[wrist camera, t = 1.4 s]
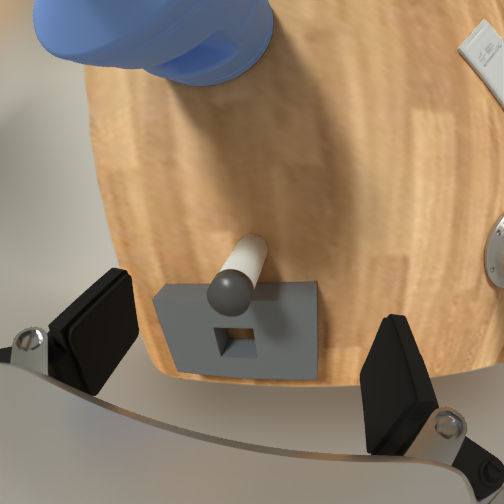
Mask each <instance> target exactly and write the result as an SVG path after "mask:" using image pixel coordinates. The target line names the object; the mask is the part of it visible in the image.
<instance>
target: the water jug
mask: <svg viewBox="0 0 504 504" xmlns="http://www.w3.org/2000/svg"><path fill="white" fill-rule="evenodd" d="M33 22H34V29H35V32H36V35H37V38H38V40H39V42H40V43H41V44H42V46H43V47H44V48H45V49H46V50H47V51H48V52H49V53H51V54H52V55H54V56H56V57H58V58H62V59H65V60H71V61H74V62H77V63H81V64H86V65H93V66H101V67H117V68H123V69H141V68H143V69H144V70H146V71H147V72H149V73H151V74H153V75H156V76H159V77H163V78H167V79H170V80H172V81H175V82H178V83H181V84H185V85H190V86H210V85H216V84H220V83H223V82H226V81H229V80H231V79H233V78H236V77H237V76H239V75H241V74H242V73H244V72H245V71H247V70H248V69H249V68H251V67H252V66H253V65H254V64H255V63H256V62H257V61H258V60H259V59H260V57H261V56H262V55H263V53H264V52H265V50H266V48H267V47H268V44H269V42H270V40H271V36H272V32H273V14H272V10H271V7H270V5H269V2H268V0H35V2H34V9H33Z"/></svg>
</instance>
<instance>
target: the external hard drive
mask: <svg viewBox="0 0 504 504" xmlns="http://www.w3.org/2000/svg"><path fill="white" fill-rule="evenodd" d="M457 51H458V52H459V53H460V54H461V55H462V56H463V57H464V58H465V60H466V61H467V62H468V63H469V64H470V65H471V67H472V68H473V69H474V70H475V71H476V73H477V74H478V75H479V76H480V78H481V79H482V80H483V81H484V83H485V84H486V85H487V87H488V88H489V89H490V91H491V92H492V93H493V95H494V96H495V97H496V99H497V100H498V102H499V103H500V104H501V106H502V107H503V109H504V41H503V39H502V38H501V37H500V36H499V35H498V33H497V32H496V31H495V30H494V29H493V28H492V26H491V25H490V24H489V23H488V22H487V21H486V20H485V19H484V20H482V21H481V22H480V23H479V25H478V26H477V27H476V28H475V29H474V30H473V32H472V33H471V34H470V35H469V36H468V37H467V38H466V39H465V40H464V41H463V42H462V44H461V45H460V46H459V47H458V48H457Z"/></svg>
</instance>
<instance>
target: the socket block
mask: <svg viewBox="0 0 504 504" xmlns="http://www.w3.org/2000/svg"><path fill="white" fill-rule="evenodd" d="M209 285H210V284H165V285H164V287H163V288H162V289H161V290H160V291H159V292H158V293H157V295H156V296H155V297H154V298H153V299H152V301H153V304H154V307H155V310H156V313H157V316H158V319H159V322H160V325H161V327H162V330H163V333H164V336H165V339H166V342H167V344H168V347H169V350H170V352H171V355H172V358H173V360H174V363H175V365H176V368H177V371H178V372H183V373H192V374H201V375H211V376H223V377H236V378H252V379H278V380H317V372H318V304H317V281H313V282H282V283H256V286H255V288H254V294H253V297H252V299H251V302H250V305H249V307H248V309H247V311H246V312H245V313H243V314H242V315H239V316H236V317H228V316H224V315H221V314H219V313H218V312H216V311H215V310H214V309H213V308H212V307H211V306H210V304H209V303H208V300H207V289H208V287H209ZM226 328H253V331H254V338H255V339H243V338H228V333H227V329H226Z"/></svg>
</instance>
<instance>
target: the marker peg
mask: <svg viewBox="0 0 504 504" xmlns="http://www.w3.org/2000/svg"><path fill="white" fill-rule="evenodd" d="M267 253H268V246H267V244H266V242H265V240H264V239H263V238H261V237H260V236H258V235H255V234H248V235H245V236H243V237H242V238H241V239H240V240H239V242H238V243H237V245H236V246H235V248H234V249H233V251H232V253H231V254H230V256H229V257H228V259H227V260H226V262H225V264H224V265H223V267H222V268H221V270H220V272H219V273H218V274H217V275H216V276H215V278H214V279H213V281H212V282H211V284H210V285H209V287H208V289H207V300H208V303H209V304H210V306H211V307H212V308H213V309H214V310H215V311H216V312H218V313H219V314H221V315H224V316H228V317H236V316H239V315H242V314H243V313H245V312H246V311H247V309H248V307H249V305H250V302H251V299H252V297H253V294H254V288H255V286H256V283H257V280H258V278H259V275H260V272H261V269H262V267H263V264H264V261H265V259H266V256H267Z"/></svg>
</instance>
